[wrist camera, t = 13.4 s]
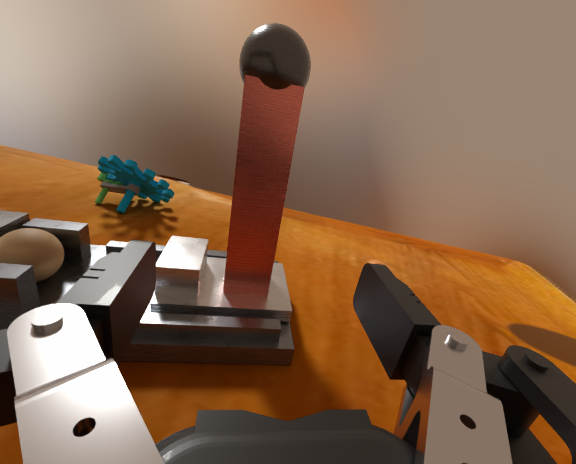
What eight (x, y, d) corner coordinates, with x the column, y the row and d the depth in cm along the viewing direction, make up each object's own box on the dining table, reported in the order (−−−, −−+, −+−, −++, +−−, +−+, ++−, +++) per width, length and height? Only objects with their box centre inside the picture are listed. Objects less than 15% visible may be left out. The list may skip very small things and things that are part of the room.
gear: (188, 198, 43) (146, 153, 34) (172, 233, 41) (122, 195, 32) (131, 190, 46) (79, 147, 38) (113, 222, 44) (53, 184, 35)
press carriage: (150, 314, 20) (144, -30, 13) (174, 263, 26) (179, 14, 19) (289, 321, 22) (356, 24, 15) (280, 272, 28) (323, 48, 21)
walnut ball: (-3, 301, 19) (-18, 248, 17) (-4, 272, 22) (-17, 223, 20) (71, 285, 22) (64, 237, 20) (62, 260, 24) (56, 216, 23)
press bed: (-227, 353, 15) (-284, 272, 13) (-29, 248, 26) (-44, 195, 24) (290, 364, 20) (304, 308, 18) (275, 273, 31) (283, 231, 29)
